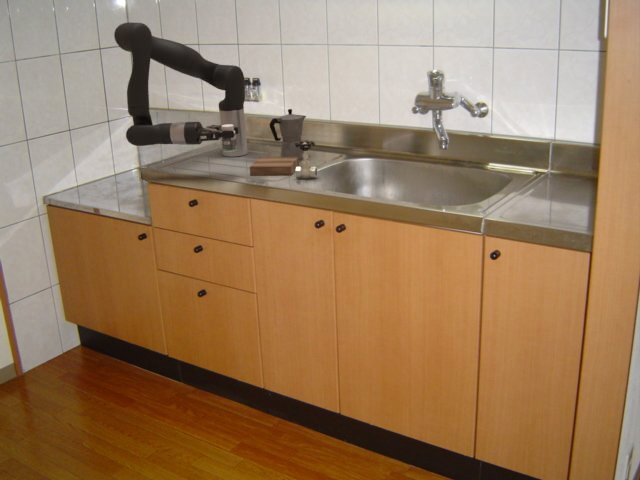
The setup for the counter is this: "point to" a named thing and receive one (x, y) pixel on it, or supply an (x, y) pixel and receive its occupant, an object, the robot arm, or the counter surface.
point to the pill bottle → (229, 139)
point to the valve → (305, 162)
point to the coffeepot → (289, 133)
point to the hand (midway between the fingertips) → (235, 132)
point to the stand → (274, 166)
